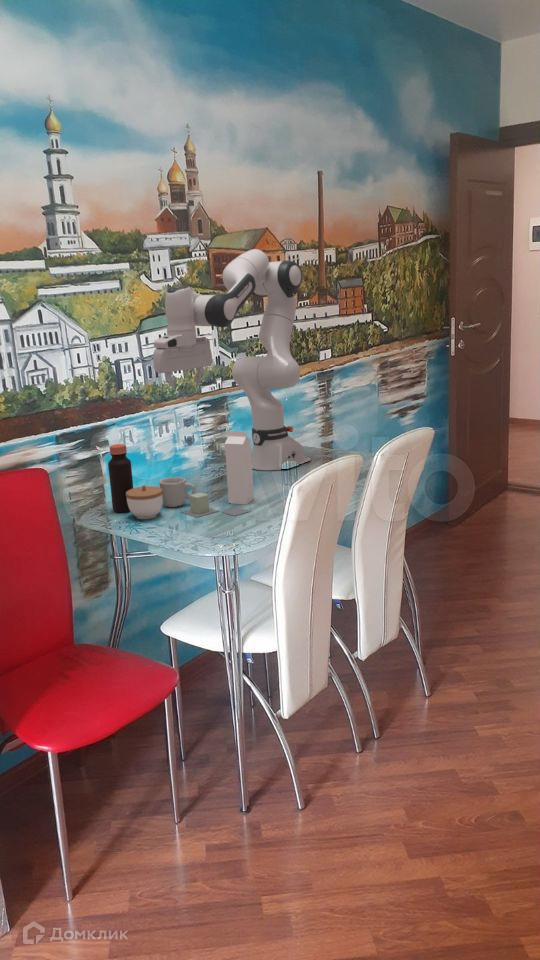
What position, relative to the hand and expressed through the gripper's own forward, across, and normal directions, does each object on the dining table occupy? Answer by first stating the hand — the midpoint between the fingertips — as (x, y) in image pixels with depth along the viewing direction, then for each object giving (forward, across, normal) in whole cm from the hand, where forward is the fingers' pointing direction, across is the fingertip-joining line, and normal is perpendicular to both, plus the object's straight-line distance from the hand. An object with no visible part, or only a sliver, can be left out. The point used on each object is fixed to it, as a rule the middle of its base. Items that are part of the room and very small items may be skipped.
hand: (185, 384), depth 260 cm
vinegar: (+35, +26, 0) cm, 44 cm away
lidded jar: (+35, +25, +11) cm, 45 cm away
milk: (+35, -3, +21) cm, 41 cm away
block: (+35, +12, +20) cm, 42 cm away
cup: (+35, +12, +9) cm, 38 cm away
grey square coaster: (+35, +5, +28) cm, 45 cm away
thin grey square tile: (+35, +12, +20) cm, 42 cm away
